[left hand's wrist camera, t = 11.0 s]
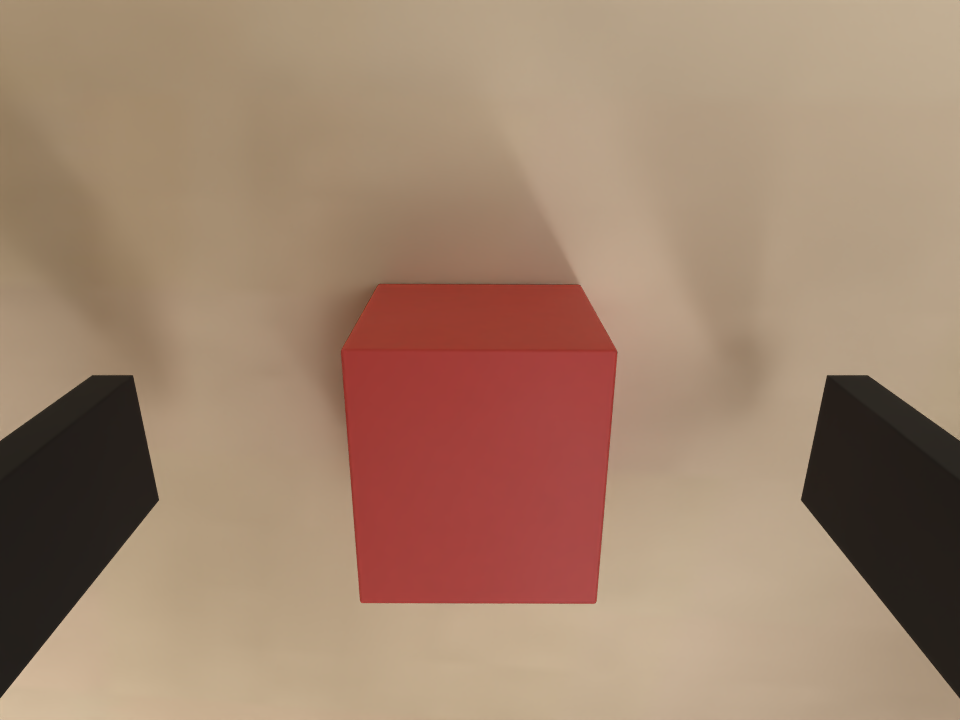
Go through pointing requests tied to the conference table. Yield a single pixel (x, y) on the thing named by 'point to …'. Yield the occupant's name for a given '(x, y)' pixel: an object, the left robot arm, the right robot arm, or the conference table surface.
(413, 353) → the block
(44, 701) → the conference table surface
